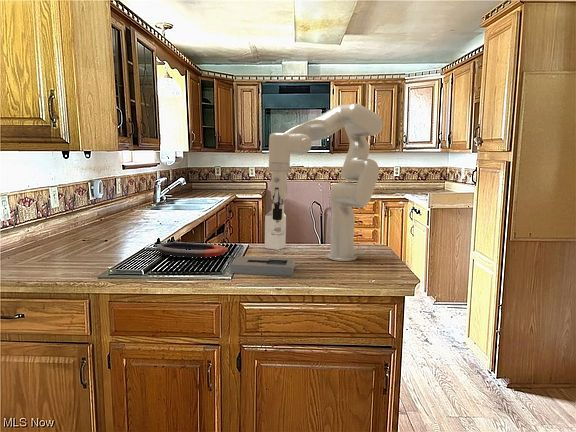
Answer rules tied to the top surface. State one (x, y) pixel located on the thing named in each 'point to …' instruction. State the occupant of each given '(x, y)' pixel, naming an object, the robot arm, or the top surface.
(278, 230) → the peg
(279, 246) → the milk carton
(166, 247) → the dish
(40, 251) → the top surface
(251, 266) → the keyhole plate
